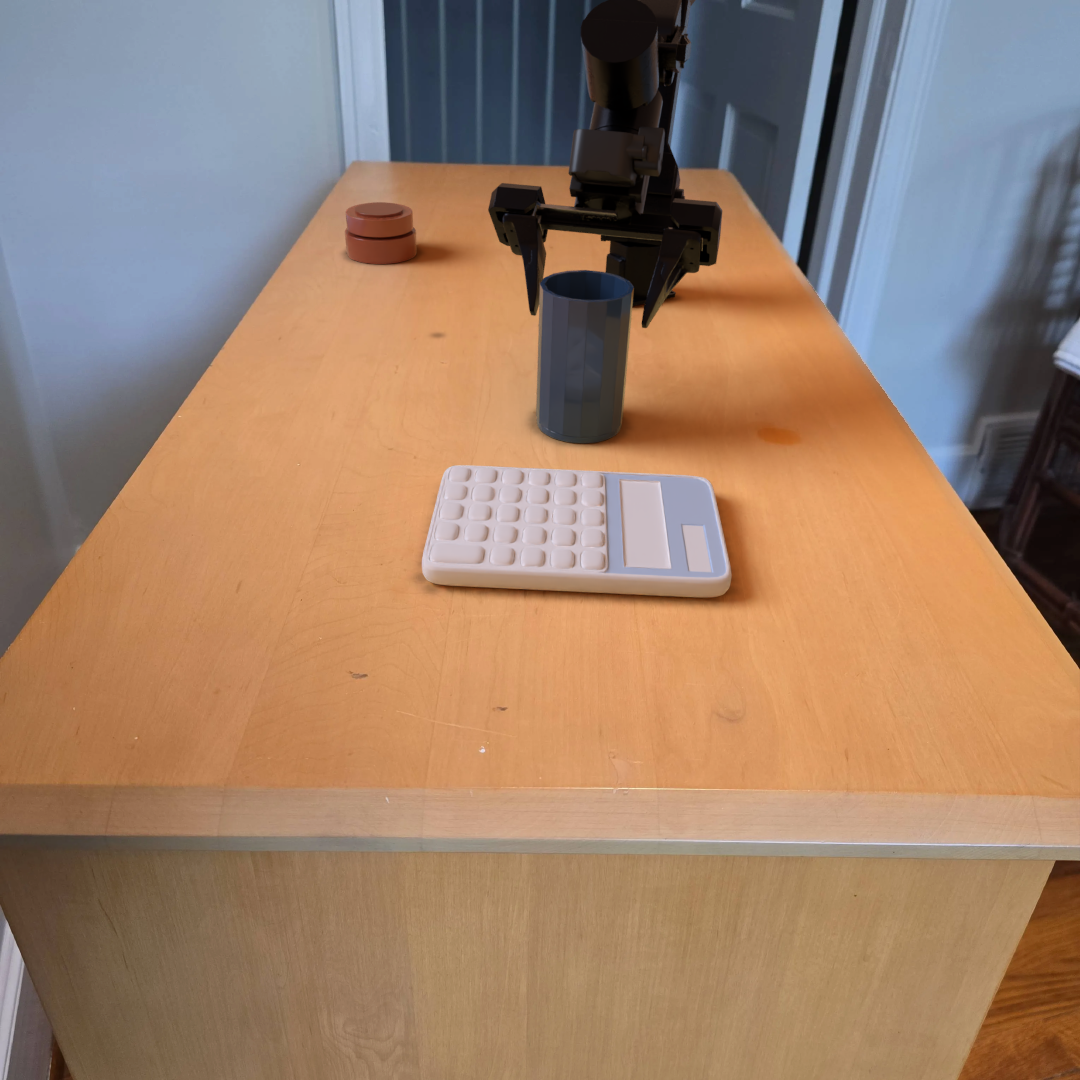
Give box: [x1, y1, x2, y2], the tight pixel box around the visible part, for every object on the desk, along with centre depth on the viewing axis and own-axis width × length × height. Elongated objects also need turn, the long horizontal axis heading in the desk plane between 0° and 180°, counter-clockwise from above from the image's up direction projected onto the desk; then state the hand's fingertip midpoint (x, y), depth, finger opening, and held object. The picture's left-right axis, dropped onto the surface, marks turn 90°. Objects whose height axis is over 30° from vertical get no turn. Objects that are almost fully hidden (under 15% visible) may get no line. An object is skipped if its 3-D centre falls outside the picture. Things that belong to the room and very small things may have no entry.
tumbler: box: [535, 269, 634, 444], centre depth 76 cm, size 7×7×12 cm
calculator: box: [421, 464, 732, 598], centre depth 65 cm, size 13×20×2 cm, turn 88°
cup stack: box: [344, 201, 418, 265], centre depth 114 cm, size 9×9×5 cm
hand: (587, 319), depth 75 cm, fingers open, 9 cm apart
